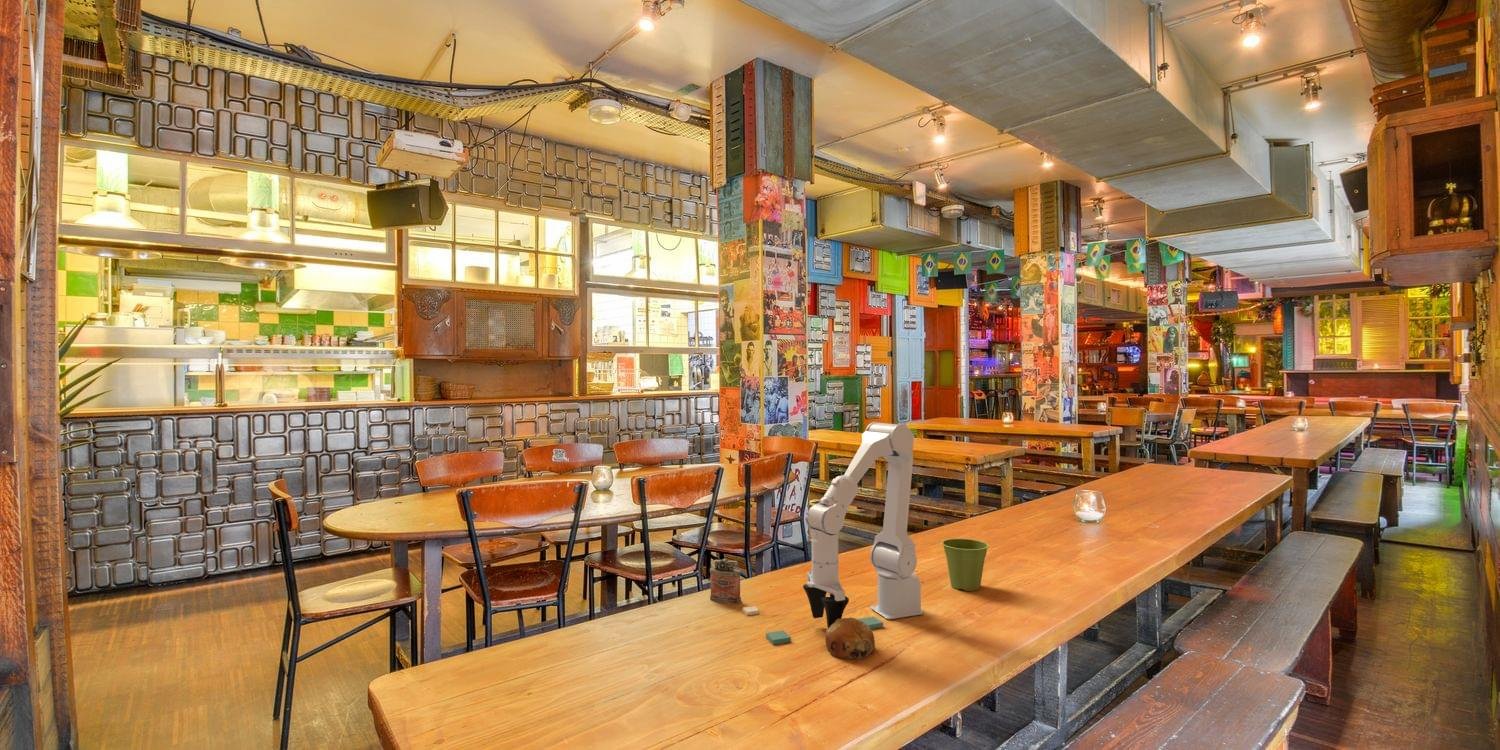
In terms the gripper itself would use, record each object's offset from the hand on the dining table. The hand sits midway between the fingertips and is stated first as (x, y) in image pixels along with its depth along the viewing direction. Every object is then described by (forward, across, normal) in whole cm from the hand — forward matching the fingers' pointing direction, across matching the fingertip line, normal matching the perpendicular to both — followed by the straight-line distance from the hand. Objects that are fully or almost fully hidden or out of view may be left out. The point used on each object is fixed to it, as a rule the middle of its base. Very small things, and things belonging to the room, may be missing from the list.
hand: (825, 623), depth 145 cm
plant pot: (+2, -14, +47) cm, 49 cm away
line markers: (+2, -8, 0) cm, 8 cm away
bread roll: (+2, +10, +1) cm, 10 cm away
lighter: (+2, -27, -14) cm, 30 cm away
